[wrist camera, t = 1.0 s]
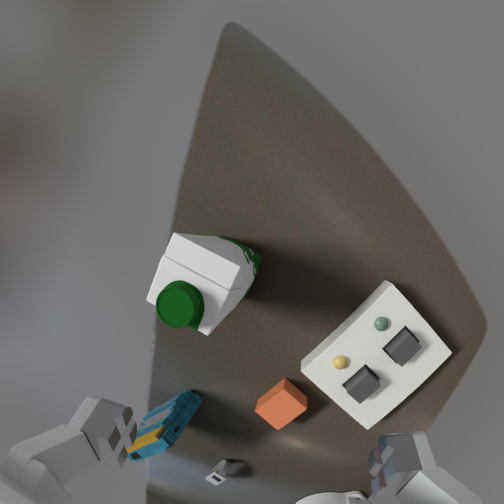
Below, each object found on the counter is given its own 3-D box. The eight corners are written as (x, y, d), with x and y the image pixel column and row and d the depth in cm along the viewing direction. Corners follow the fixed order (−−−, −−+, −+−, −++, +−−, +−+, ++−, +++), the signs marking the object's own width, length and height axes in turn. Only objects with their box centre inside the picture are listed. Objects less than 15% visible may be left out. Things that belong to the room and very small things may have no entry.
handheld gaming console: (169, 420, 51) (133, 465, 36) (155, 404, 51) (115, 445, 36) (206, 400, 49) (174, 449, 35) (191, 382, 50) (154, 427, 35)
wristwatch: (219, 474, 50) (212, 489, 45) (208, 466, 50) (200, 481, 45) (237, 460, 49) (231, 476, 44) (225, 452, 50) (219, 468, 45)
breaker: (412, 337, 41) (422, 347, 37) (393, 356, 42) (401, 367, 38) (401, 325, 42) (410, 334, 37) (382, 344, 42) (389, 354, 38)
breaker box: (442, 345, 42) (453, 354, 38) (363, 417, 45) (367, 431, 41) (385, 279, 44) (393, 284, 39) (301, 360, 46) (300, 372, 42)
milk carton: (195, 280, 49) (129, 305, 29) (219, 228, 48) (162, 221, 28) (244, 306, 48) (205, 351, 28) (270, 253, 47) (246, 264, 27)
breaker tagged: (374, 373, 43) (380, 386, 38) (355, 390, 43) (359, 404, 39) (363, 362, 43) (368, 374, 38) (343, 379, 43) (346, 392, 39)
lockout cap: (307, 397, 47) (306, 409, 43) (280, 417, 47) (277, 430, 43) (285, 377, 47) (283, 388, 43) (258, 399, 48) (254, 411, 44)
